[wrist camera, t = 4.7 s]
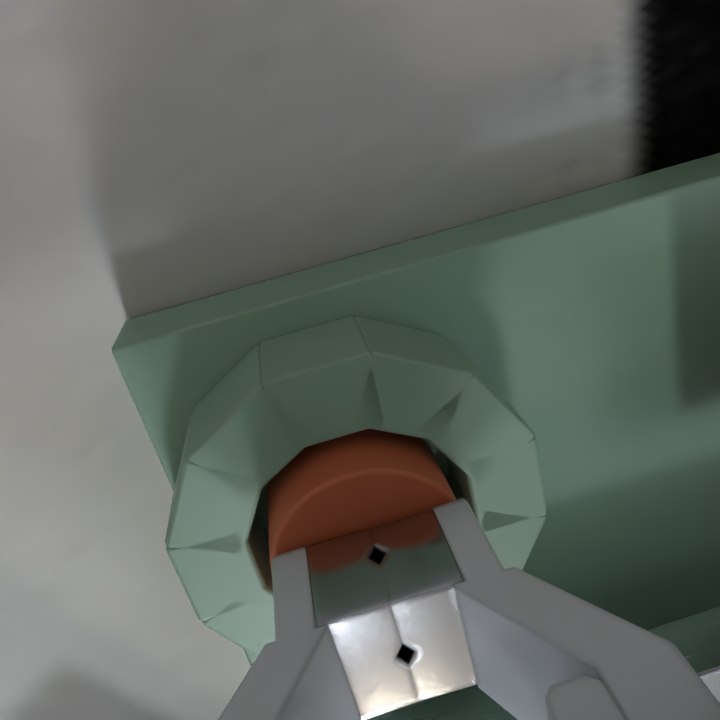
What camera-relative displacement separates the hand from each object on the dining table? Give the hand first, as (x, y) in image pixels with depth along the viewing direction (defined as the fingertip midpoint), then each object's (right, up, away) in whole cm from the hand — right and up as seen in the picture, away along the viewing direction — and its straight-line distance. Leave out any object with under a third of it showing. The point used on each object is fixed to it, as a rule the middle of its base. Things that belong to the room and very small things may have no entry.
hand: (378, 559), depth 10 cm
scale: (+5, -2, +6) cm, 8 cm away
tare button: (0, +1, +1) cm, 2 cm away
